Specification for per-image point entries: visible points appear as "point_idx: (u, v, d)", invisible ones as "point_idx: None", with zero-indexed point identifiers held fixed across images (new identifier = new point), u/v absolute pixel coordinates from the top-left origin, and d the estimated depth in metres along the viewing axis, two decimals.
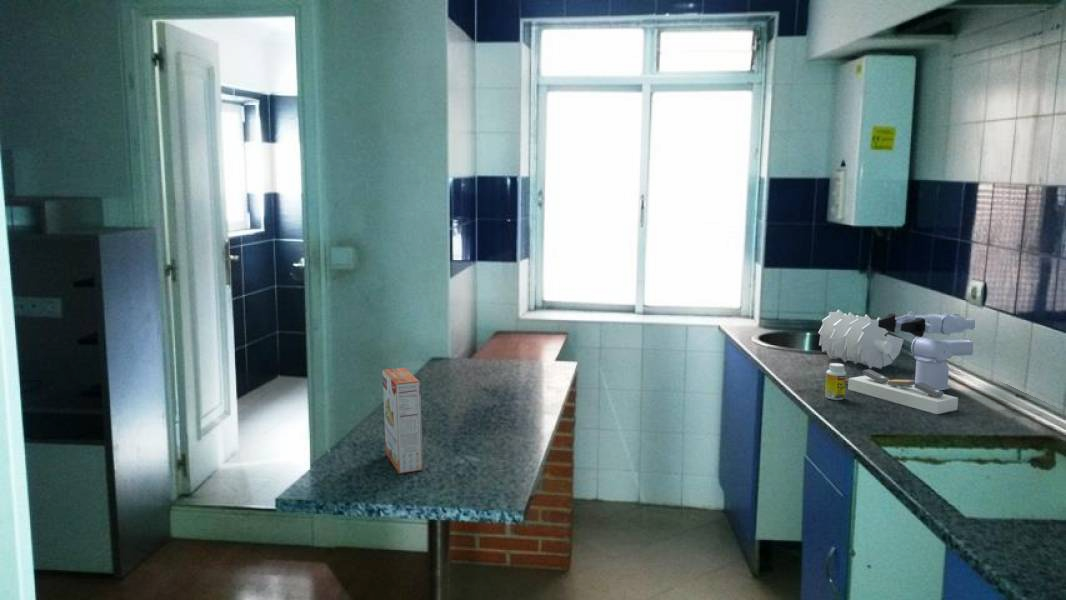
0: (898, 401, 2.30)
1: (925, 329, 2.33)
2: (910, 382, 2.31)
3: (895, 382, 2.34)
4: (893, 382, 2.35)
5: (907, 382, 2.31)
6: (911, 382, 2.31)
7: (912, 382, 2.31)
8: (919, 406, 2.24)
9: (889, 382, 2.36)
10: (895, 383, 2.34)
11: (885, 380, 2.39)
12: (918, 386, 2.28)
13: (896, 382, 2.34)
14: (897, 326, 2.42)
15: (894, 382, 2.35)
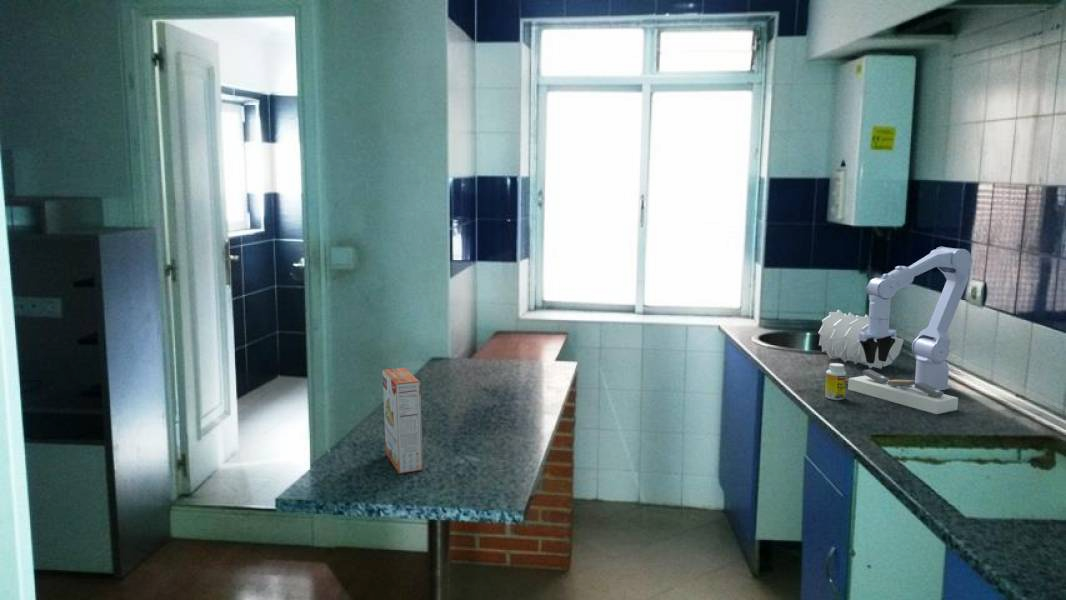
0: (898, 401, 2.30)
1: (864, 340, 2.37)
2: (910, 382, 2.31)
3: (895, 382, 2.34)
4: (893, 382, 2.35)
5: (907, 382, 2.31)
6: (911, 382, 2.31)
7: (912, 382, 2.31)
8: (919, 406, 2.24)
9: (889, 382, 2.36)
10: (895, 383, 2.34)
11: (885, 380, 2.39)
12: (918, 386, 2.28)
13: (896, 382, 2.34)
14: None
15: (894, 382, 2.35)
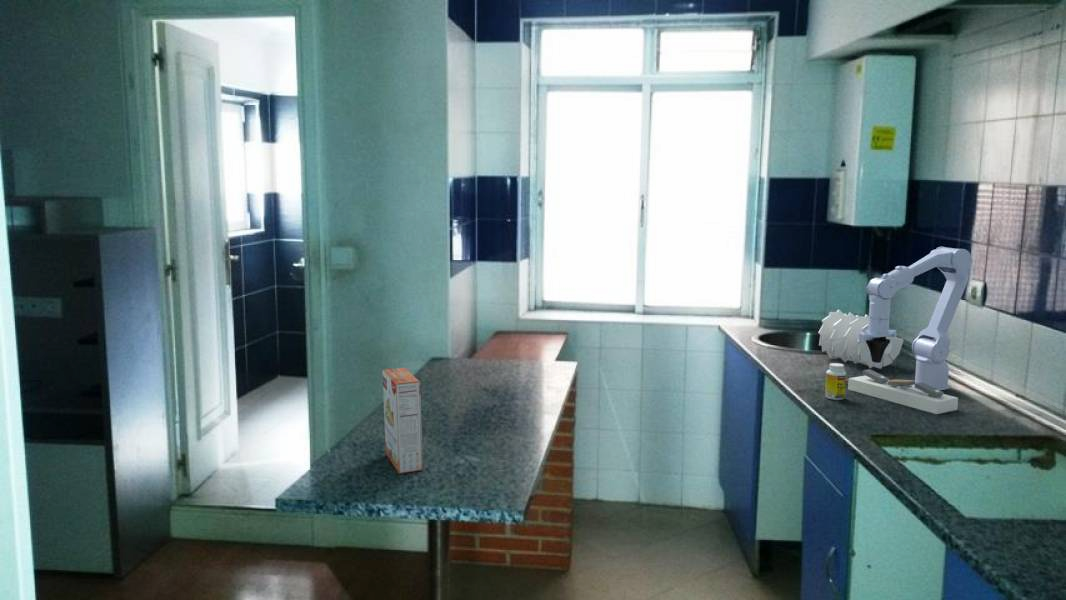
0: (898, 401, 2.30)
1: (864, 340, 2.37)
2: (910, 382, 2.31)
3: (895, 382, 2.34)
4: (893, 382, 2.35)
5: (907, 382, 2.31)
6: (911, 382, 2.31)
7: (912, 382, 2.31)
8: (919, 406, 2.24)
9: (889, 382, 2.36)
10: (895, 383, 2.34)
11: (885, 380, 2.39)
12: (918, 386, 2.28)
13: (896, 382, 2.34)
14: None
15: (894, 382, 2.35)
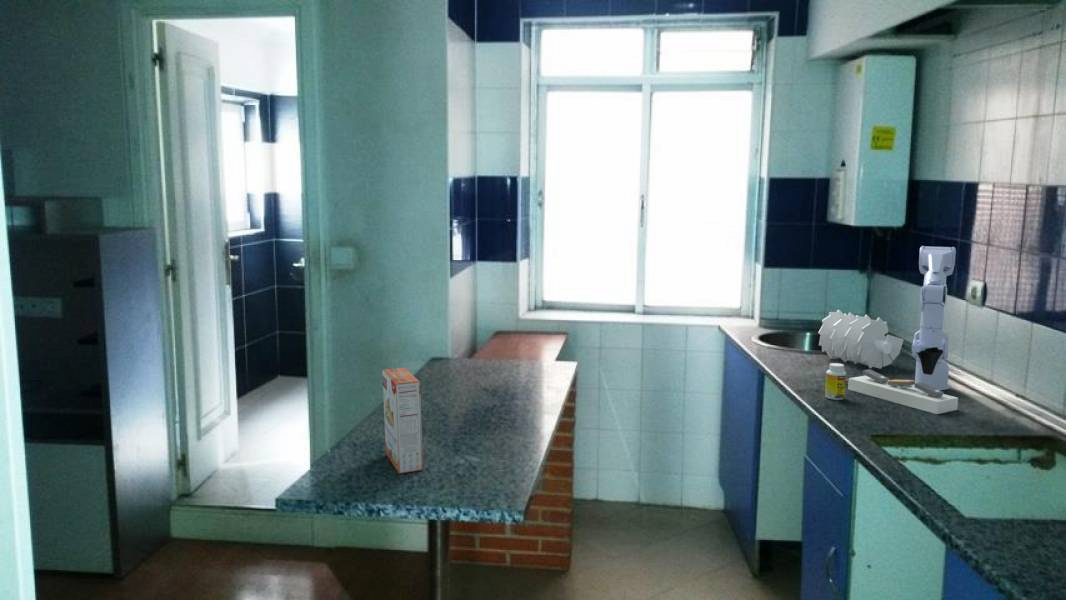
0: (898, 401, 2.30)
1: (917, 351, 2.22)
2: (910, 382, 2.31)
3: (895, 382, 2.34)
4: (893, 382, 2.35)
5: (907, 382, 2.31)
6: (911, 382, 2.31)
7: (912, 382, 2.31)
8: (919, 406, 2.24)
9: (889, 382, 2.36)
10: (895, 383, 2.34)
11: (885, 380, 2.39)
12: (918, 386, 2.28)
13: (896, 382, 2.34)
14: None
15: (894, 382, 2.35)
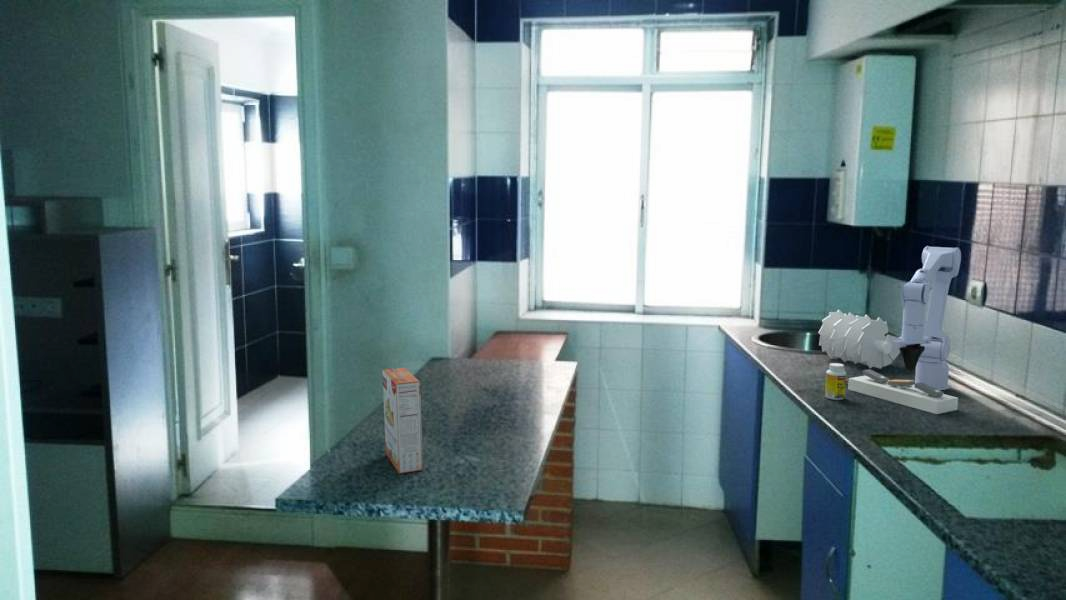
0: (898, 401, 2.30)
1: None
2: (910, 382, 2.31)
3: (895, 382, 2.34)
4: (893, 382, 2.35)
5: (907, 382, 2.31)
6: (911, 382, 2.31)
7: (912, 382, 2.31)
8: (919, 406, 2.24)
9: (889, 382, 2.36)
10: (895, 383, 2.34)
11: (885, 380, 2.39)
12: (918, 386, 2.28)
13: (896, 382, 2.34)
14: None
15: (894, 382, 2.35)
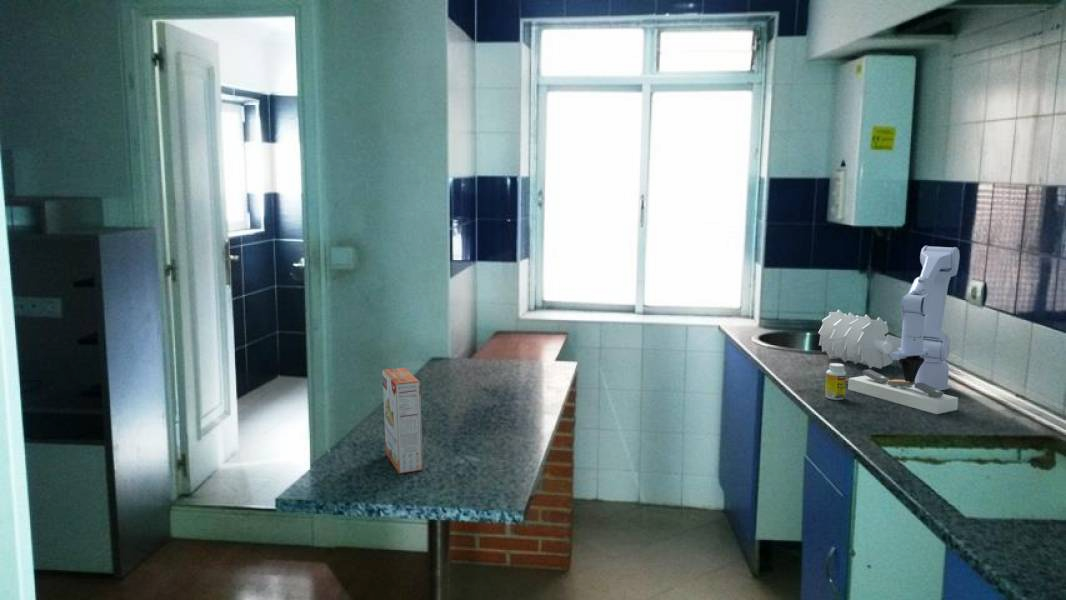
0: (898, 401, 2.30)
1: (897, 359, 2.27)
2: (910, 382, 2.31)
3: (895, 382, 2.34)
4: (893, 382, 2.35)
5: (907, 382, 2.31)
6: (911, 382, 2.31)
7: (912, 382, 2.31)
8: (919, 406, 2.24)
9: (889, 382, 2.36)
10: (895, 383, 2.34)
11: (885, 380, 2.39)
12: (918, 386, 2.28)
13: (896, 382, 2.34)
14: None
15: (894, 382, 2.35)
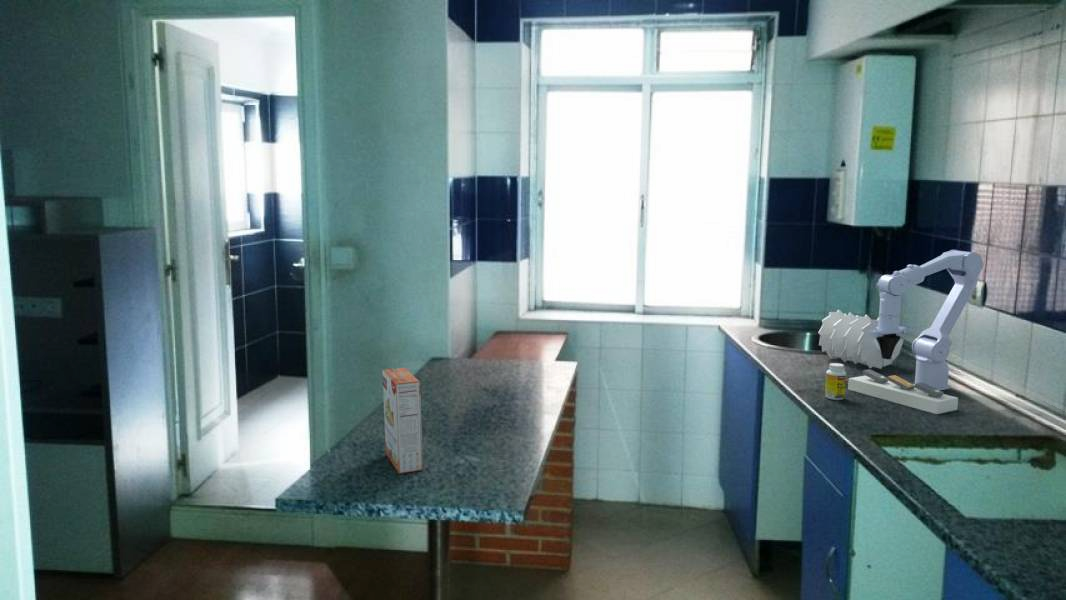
0: (898, 401, 2.30)
1: (875, 337, 2.38)
2: (910, 387, 2.31)
3: (895, 381, 2.34)
4: (893, 380, 2.35)
5: (907, 387, 2.31)
6: (911, 387, 2.31)
7: (912, 387, 2.32)
8: (919, 406, 2.24)
9: (890, 378, 2.36)
10: (895, 382, 2.34)
11: (885, 380, 2.39)
12: (918, 386, 2.28)
13: (896, 382, 2.34)
14: None
15: (894, 381, 2.35)
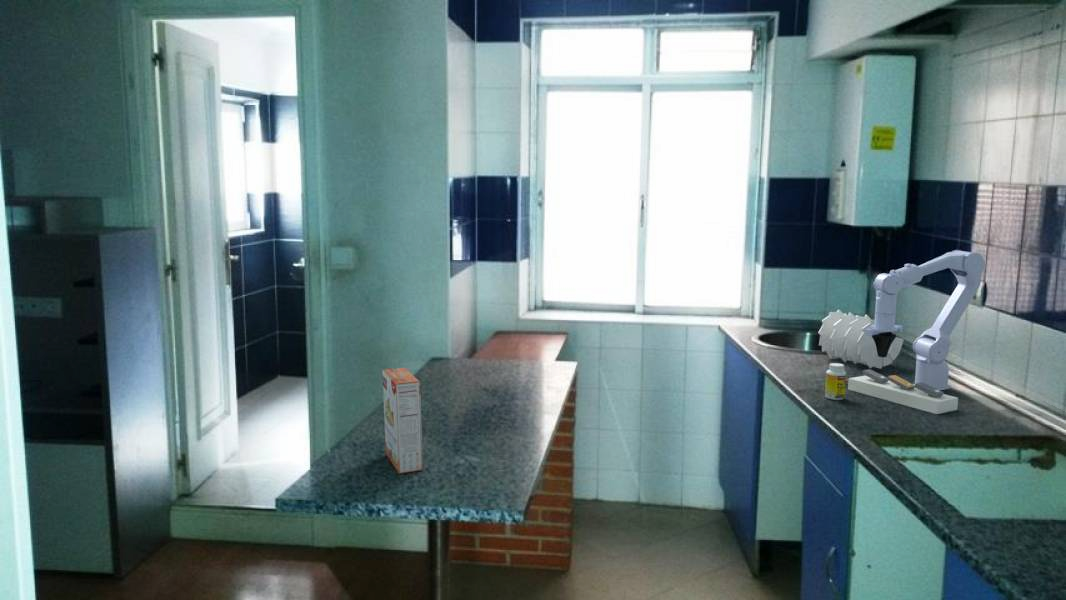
0: (898, 401, 2.30)
1: (870, 335, 2.40)
2: (910, 387, 2.31)
3: (895, 381, 2.34)
4: (893, 380, 2.35)
5: (907, 387, 2.31)
6: (911, 387, 2.31)
7: (912, 387, 2.32)
8: (919, 406, 2.24)
9: (890, 378, 2.36)
10: (895, 382, 2.34)
11: (885, 380, 2.39)
12: (918, 386, 2.28)
13: (896, 382, 2.34)
14: None
15: (894, 380, 2.35)
